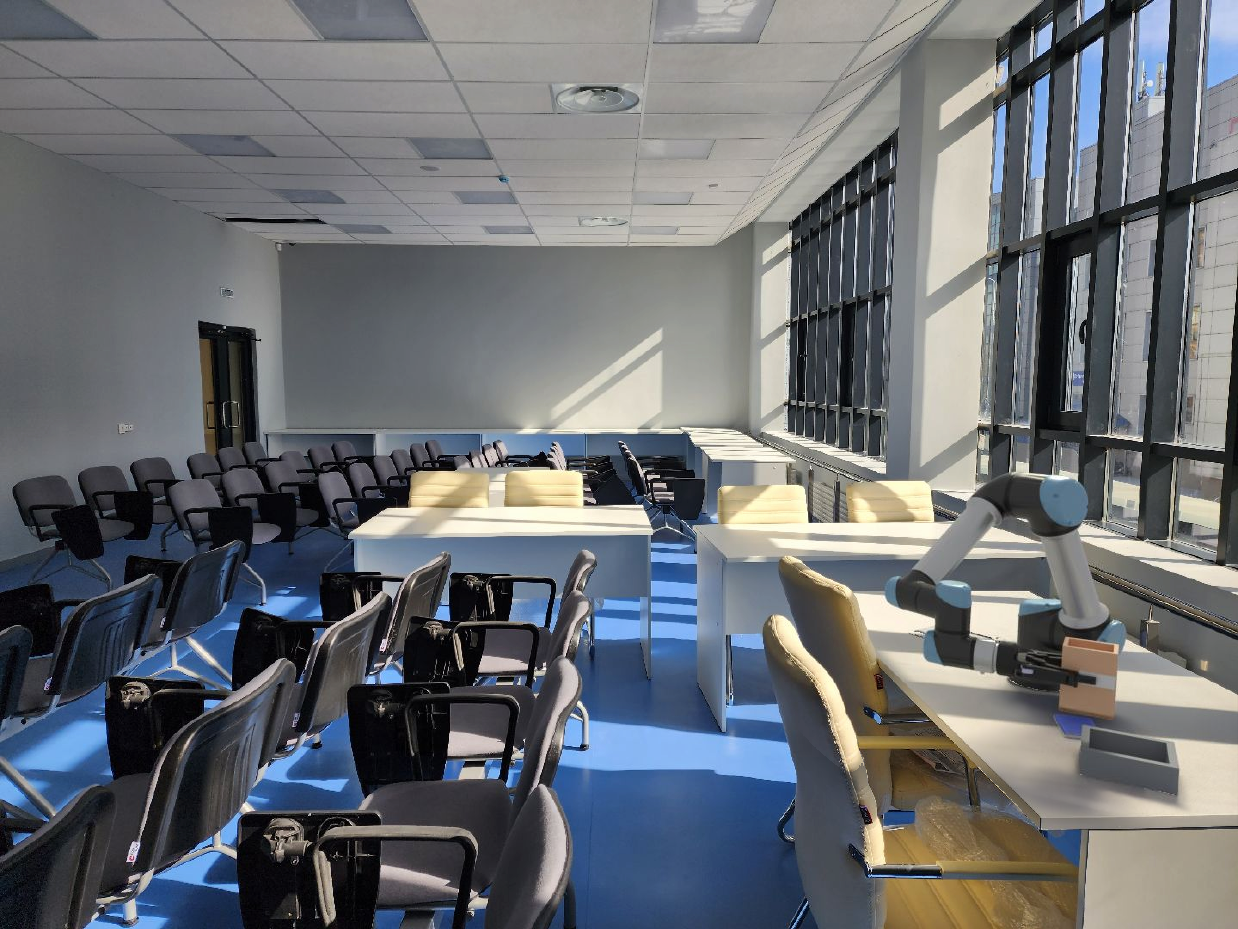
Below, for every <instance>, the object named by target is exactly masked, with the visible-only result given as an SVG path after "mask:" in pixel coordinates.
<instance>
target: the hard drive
mask: <svg viewBox="0 0 1238 929" xmlns="http://www.w3.org/2000/svg"><path fill="white" fill-rule="evenodd" d="M1053 717H1054V718H1053V720H1054V722H1055V723H1056V725H1057V724H1058V725H1057V726H1058V728H1059V730H1060V731H1061V733H1062V734H1063V736H1064V737H1065V738H1068V737H1072V738H1071V739H1076V738H1079V739H1078V740H1081V736H1082V725H1087V726H1093V727H1097V726H1096V724H1095V723H1094V721H1093V720H1092V719H1091V718H1089V717H1082V716H1076V715H1075V716H1074V715H1065V714H1058V713H1057V714H1056V713H1055V714H1053Z"/></svg>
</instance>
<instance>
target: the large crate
mask: <svg viewBox="0 0 1238 929" xmlns="http://www.w3.org/2000/svg"><path fill="white" fill-rule="evenodd" d="M1078 765H1079V766H1078V775H1080V774H1081V775H1080V776H1084V775H1085V777H1089V776H1090V778H1093V777H1094V779H1098V780H1099V779H1100V780H1103V779H1104V781H1107V780H1108V782H1113V783H1117V784H1122V785H1126V786H1127V785H1128V786H1130V785H1132V786H1131V787H1135V788H1141V789H1144V788H1146V789H1145V790H1150V791H1154V792H1158V791H1161V792H1160V793H1163V792H1166V793H1165V794H1167V793H1169V794H1168V795H1172V794H1174V795H1173V796H1176V795H1177V796H1178V795H1179V794H1178V792H1179V781H1180V779H1179V778H1180V765H1179V760H1178V753H1177V749H1176V742H1175V741H1170V740H1167V739H1160V738H1155V737H1151V736H1149V737H1148V736H1144V735H1140V734H1135V733H1128V732H1122V731H1117V730H1114V729H1113V730H1112V729H1108V728H1103V727H1097V726H1096V727H1093V726H1087V725H1082V736H1081V739H1080V749H1079V763H1078Z"/></svg>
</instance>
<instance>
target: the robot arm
mask: <svg viewBox="0 0 1238 929" xmlns="http://www.w3.org/2000/svg"><path fill="white" fill-rule="evenodd" d="M965 504H966V505H965V507H966V508H965V509H964V510H963V511H962V512H961V513H960V515H959V516H958V517H956V519H955V520H954V521H953V523H951V524H950V526H949V527H948V528H947V529H946V530H945V531H944V533H943V534H942V535H940V537H939V538H938V539H937V540H936V541H935V542H934V544H932V546H931V547H930V548H929V549H928V550H927V552H925V554H924V555H923V556H922V557H921V558H920V559H919V560H918V562H917V563H916V564H915V565H914V566H913V567H912V568H911V570H909V572H908V573H906V575H905V576H893V577H891V578H890V579H889V580H887V582H886V584H885V587H884V598H885V600H886V601H887V602H888V604H889V605H891V606H893V607H896V608H898V609H900V610H903V611H908V612H912V613H915V614H917V615H921V616H925V617H928V618H931V619H934V626H935V628H934V630H928V631H927V632H926V634H925V637H924V638H923V645H922V653H923V658H924V659H925V661H927V662H928V663H933V664H937V665H941V666H944V667H950V668H956V669H957V668H958V669H963V670H970V671H975V672H979V673H980V674H981V675H985V673H986V674H987V673H988V674H992V675H993V674H994V673H995V672H996V674H997V675H998V676H1001V677H1007V678H1008V677H1009V679H1010V680H1011V681H1014V682H1015V683H1017V684H1019V685H1022V686H1024V687H1023V688H1025V687H1030V688H1034V689H1038V690H1037V691H1040V690H1046V691H1045V692H1050V691H1058V692H1060V691H1059V690H1060V684H1064V685H1069V686H1073V687H1074V688H1077V687H1078V684H1082V685H1088V686H1094V687H1100V688H1105V689H1111V690H1115V679H1116V676H1111V675H1105V674H1099V673H1093V672H1087V671H1081V670H1079V672H1077V671H1073V670H1070V669H1065V668H1061V665H1062V648H1063V643H1064V640H1065V637H1071V638H1078V639H1084V640H1091V641H1098V642H1105V643H1111V644H1118V645H1119V651H1118V657H1119V656H1120V655H1121V653H1122V651H1123V650H1124V646H1125V644H1126V639H1127V629H1126V626H1125V624H1124V623H1122V622H1121V621H1120V620H1117V619H1113V618H1112V616H1111V613H1110V610H1109V608H1108V606H1107V605H1105V604H1104V603H1102V602H1101V601H1100V600H1099V596H1098V593H1097V589H1096V586H1095V583H1094V580H1093V576H1092V573H1091V569H1090V567H1089V566H1090V565H1089V563H1088V560H1087V556H1086V552H1085V550H1084V549H1085V548H1084V545H1083V542H1082V539H1081V536H1080V533H1079V529H1080V528H1081V526H1082V524H1083V522H1084V520H1085V518H1086V517H1087V514H1088V510H1089V509H1088V508H1087V506H1088V505H1089V497H1088V493H1087V491H1086V489H1085V487H1084V486H1083V485H1082V484H1081V482H1080V481H1078V480H1077V479H1075V478H1073V477H1070V476H1063V475H1060V474H1042V473H1031V472H1024V471H1011V472H1006V473H1004V474H1001V475H998V476H997V477H995V478H992V479H991V480H989V481H988V482H986V483H984V485H982V486H981V487H979V488H978V489H977V490H976V491H975V492H974V493H973V494H972V495H971V496H970V497H969V498H968V500H966V502H965ZM1011 518H1016V519H1021V520H1027V523H1028V527H1029V529H1030V532H1031V533H1032V534H1033V535H1035V536H1036V537H1038V538H1040V542H1041V545H1042V548H1043V551H1044V555H1045V557H1046V561H1047V564H1048V567H1049V569H1050V574H1051V576H1052V577H1051V578H1052V580H1053V583H1054V586H1055V589H1056V592H1057V595H1058V598H1059V599H1054V598H1052V599H1051V598H1030V599H1029V598H1028V599H1025V600H1023V601H1021V602H1020V604H1019V605H1018V606H1019V608H1018V613H1017V635H1016V636H1017V638H1016V643H1015V642H1010V641H1005V640H1004V641H1001V642H999V643H997V641H996V640H992V639H991V638H986V637H978V636H971V635H970V634H971V633H970V630H971V616H972V606H973V602H972V588H971V586H970V585H969V584H968V583H966V582H964V581H958V580H953V579H952V580H948V579H947V578H949V576H950V575H952V574H953V571H955V570H956V568H957V567H958V566H959V565H960V563H962V562H963V560H964V559H965V558H966V557H967V556H968V555H969V553H971V551H972V550H973V549H974V548H975V547H976V546H977V545H978V543H979V542H980V541H981V540H982V539H983V538H984V537H985V535H986V534H987V533H988V532H989V531H990V530H991V528H994V527H998V526H1000V525H1001V524H1002V522H1004V521H1005V520H1006V519H1011ZM1078 673H1079V674H1078ZM1009 679H1008V680H1009ZM1010 680H1009V681H1010ZM1011 681H1010V682H1011ZM1015 683H1014V684H1015ZM1017 684H1016V685H1017ZM1019 685H1018V686H1019ZM1022 686H1021V687H1022ZM1034 689H1033V690H1034Z"/></svg>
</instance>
